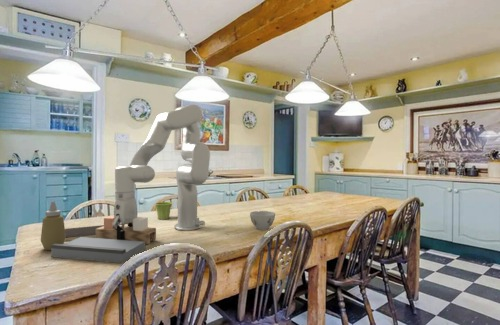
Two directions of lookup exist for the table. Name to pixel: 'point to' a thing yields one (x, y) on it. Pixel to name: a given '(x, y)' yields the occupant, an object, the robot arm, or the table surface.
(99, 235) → the wooden beam
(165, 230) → the table surface
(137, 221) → the white cube
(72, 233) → the hardcover book
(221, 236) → the table surface
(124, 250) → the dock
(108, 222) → the salmon pink cube
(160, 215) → the plant pot
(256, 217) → the teacup
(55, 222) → the squeeze bottle
